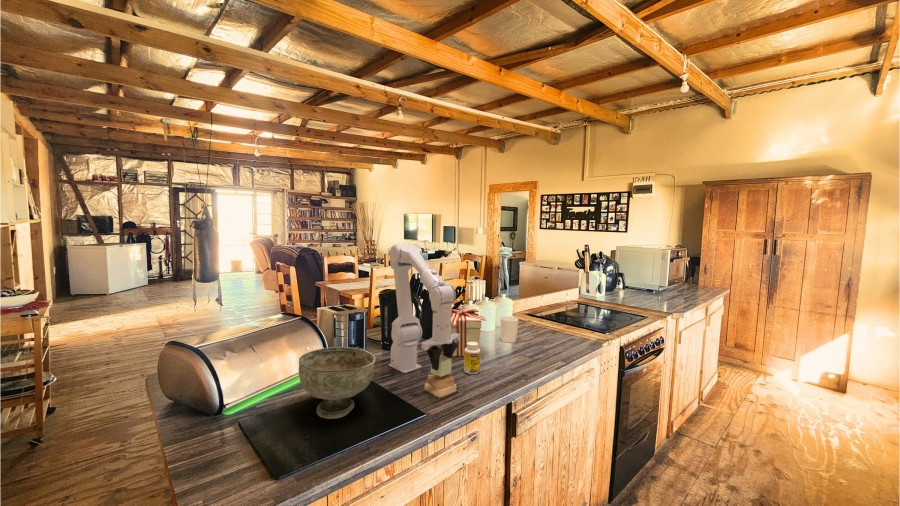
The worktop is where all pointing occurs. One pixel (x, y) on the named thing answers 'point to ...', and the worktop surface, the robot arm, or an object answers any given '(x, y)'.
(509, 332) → the beige speckled cup
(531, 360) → the worktop surface
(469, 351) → the supplement bottle
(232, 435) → the worktop surface
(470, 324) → the gift box
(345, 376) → the bowl
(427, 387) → the bottom slab
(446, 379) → the top slab
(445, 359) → the cube
